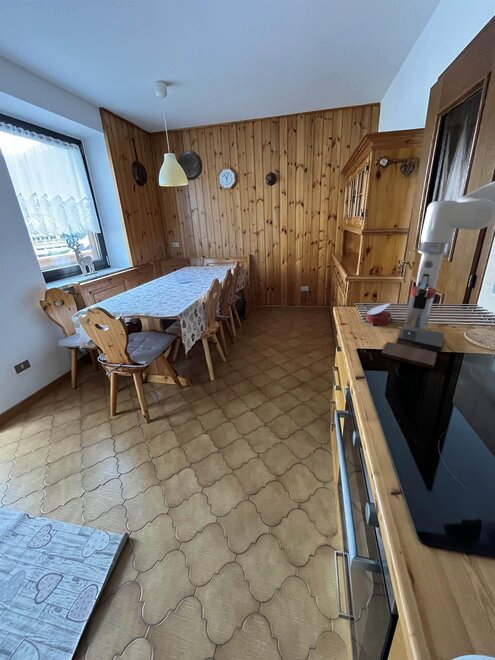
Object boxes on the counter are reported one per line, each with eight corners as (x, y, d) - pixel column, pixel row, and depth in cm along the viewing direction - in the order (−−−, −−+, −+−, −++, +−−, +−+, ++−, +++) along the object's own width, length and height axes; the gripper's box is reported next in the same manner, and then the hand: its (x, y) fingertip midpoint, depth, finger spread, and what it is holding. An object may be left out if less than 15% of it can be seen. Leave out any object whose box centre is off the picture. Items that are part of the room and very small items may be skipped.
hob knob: (417, 329, 110) (420, 317, 108) (417, 331, 109) (420, 319, 106) (404, 327, 113) (407, 315, 110) (403, 329, 111) (406, 317, 109)
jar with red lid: (428, 321, 94) (437, 287, 89) (425, 329, 89) (435, 294, 84) (406, 318, 98) (413, 284, 92) (402, 325, 93) (410, 290, 87)
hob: (443, 337, 109) (445, 331, 108) (440, 353, 100) (442, 346, 98) (399, 328, 117) (400, 322, 116) (392, 342, 108) (393, 336, 107)
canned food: (377, 334, 124) (372, 318, 118) (363, 322, 132) (358, 307, 126) (400, 319, 123) (396, 303, 117) (384, 309, 131) (380, 293, 125)
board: (436, 356, 98) (437, 352, 97) (433, 369, 92) (434, 365, 91) (386, 344, 107) (387, 341, 106) (380, 356, 100) (381, 352, 100)
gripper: (447, 254, 74) (430, 316, 82) (451, 242, 86) (436, 297, 94) (414, 252, 78) (402, 311, 86) (423, 241, 90) (411, 294, 98)
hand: (420, 303), depth 90 cm, fingers closed on jar with red lid, 6 cm apart
